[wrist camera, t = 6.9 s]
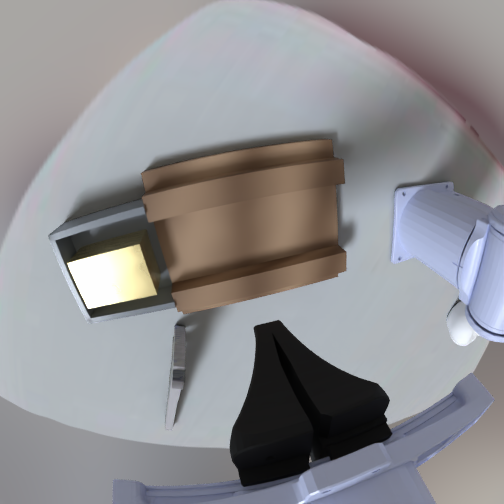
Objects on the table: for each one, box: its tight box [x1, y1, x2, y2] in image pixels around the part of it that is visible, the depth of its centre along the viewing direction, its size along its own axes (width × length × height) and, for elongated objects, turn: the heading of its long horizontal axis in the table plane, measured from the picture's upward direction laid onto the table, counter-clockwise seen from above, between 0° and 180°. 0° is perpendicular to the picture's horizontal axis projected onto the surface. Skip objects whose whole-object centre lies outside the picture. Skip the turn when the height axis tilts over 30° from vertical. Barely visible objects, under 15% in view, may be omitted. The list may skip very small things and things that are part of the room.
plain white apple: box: [447, 302, 480, 346], centre depth 31 cm, size 7×7×8 cm
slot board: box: [141, 139, 346, 314], centre depth 20 cm, size 14×12×3 cm
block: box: [68, 229, 161, 309], centre depth 19 cm, size 6×4×3 cm, turn 99°
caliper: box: [165, 325, 186, 430], centre depth 25 cm, size 20×1×6 cm, turn 165°
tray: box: [48, 199, 176, 324], centre depth 19 cm, size 8×8×3 cm
